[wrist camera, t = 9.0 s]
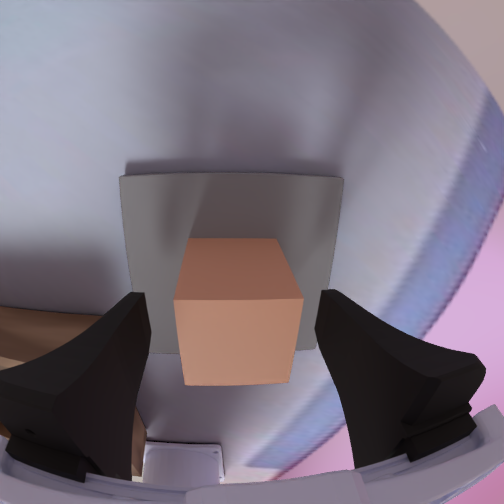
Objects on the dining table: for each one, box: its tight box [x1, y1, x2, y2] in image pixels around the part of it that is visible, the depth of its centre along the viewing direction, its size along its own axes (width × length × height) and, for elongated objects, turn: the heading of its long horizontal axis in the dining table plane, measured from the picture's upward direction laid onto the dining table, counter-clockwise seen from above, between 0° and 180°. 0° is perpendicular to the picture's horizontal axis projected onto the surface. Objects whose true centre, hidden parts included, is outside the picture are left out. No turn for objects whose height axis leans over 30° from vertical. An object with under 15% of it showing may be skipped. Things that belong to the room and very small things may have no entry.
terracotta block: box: [173, 238, 304, 386], centre depth 12 cm, size 4×4×5 cm
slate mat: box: [119, 172, 344, 354], centre depth 14 cm, size 10×10×1 cm
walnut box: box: [0, 306, 147, 477], centre depth 15 cm, size 13×16×4 cm
